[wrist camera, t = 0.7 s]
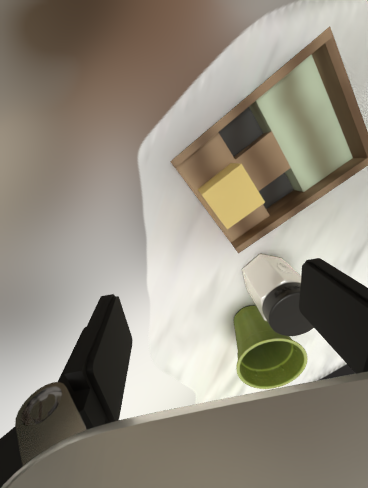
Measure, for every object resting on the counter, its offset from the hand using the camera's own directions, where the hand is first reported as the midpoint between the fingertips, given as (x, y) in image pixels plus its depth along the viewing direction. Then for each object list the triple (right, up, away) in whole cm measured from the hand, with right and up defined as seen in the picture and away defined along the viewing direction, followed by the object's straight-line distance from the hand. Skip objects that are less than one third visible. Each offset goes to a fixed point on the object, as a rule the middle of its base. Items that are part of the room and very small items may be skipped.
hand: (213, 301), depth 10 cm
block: (+5, +11, +21) cm, 24 cm away
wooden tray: (+11, +16, +22) cm, 29 cm away
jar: (+14, -3, +30) cm, 34 cm away
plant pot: (+13, -13, +35) cm, 39 cm away
